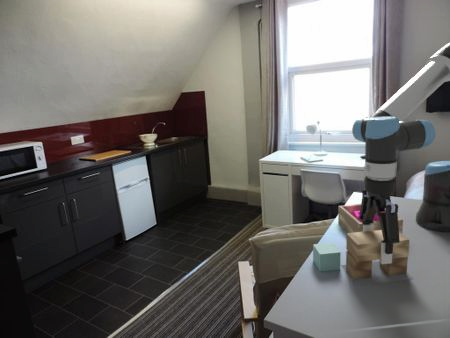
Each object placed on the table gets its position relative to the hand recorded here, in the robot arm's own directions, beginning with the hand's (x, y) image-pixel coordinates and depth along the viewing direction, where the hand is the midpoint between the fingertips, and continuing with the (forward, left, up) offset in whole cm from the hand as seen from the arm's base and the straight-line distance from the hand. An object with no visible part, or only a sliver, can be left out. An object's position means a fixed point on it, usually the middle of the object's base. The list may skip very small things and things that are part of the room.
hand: (376, 253), depth 90 cm
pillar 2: (-5, 0, -6) cm, 8 cm away
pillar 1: (+5, 0, -6) cm, 8 cm away
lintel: (0, 0, 0) cm, 0 cm away
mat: (0, 0, -6) cm, 6 cm away
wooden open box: (-11, -26, -6) cm, 29 cm away
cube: (+12, -6, -6) cm, 15 cm away
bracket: (-11, -26, -6) cm, 29 cm away
